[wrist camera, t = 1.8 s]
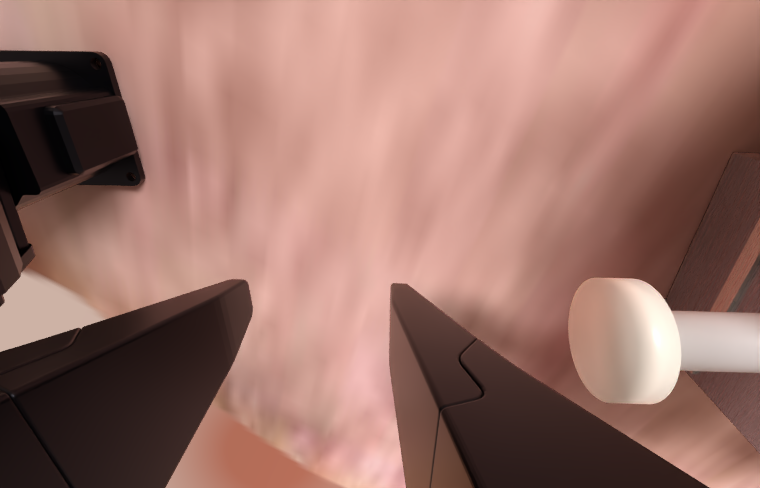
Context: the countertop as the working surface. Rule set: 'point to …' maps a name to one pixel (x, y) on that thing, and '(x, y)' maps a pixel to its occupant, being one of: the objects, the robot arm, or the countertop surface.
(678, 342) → the knob
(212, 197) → the countertop surface
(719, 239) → the mount
